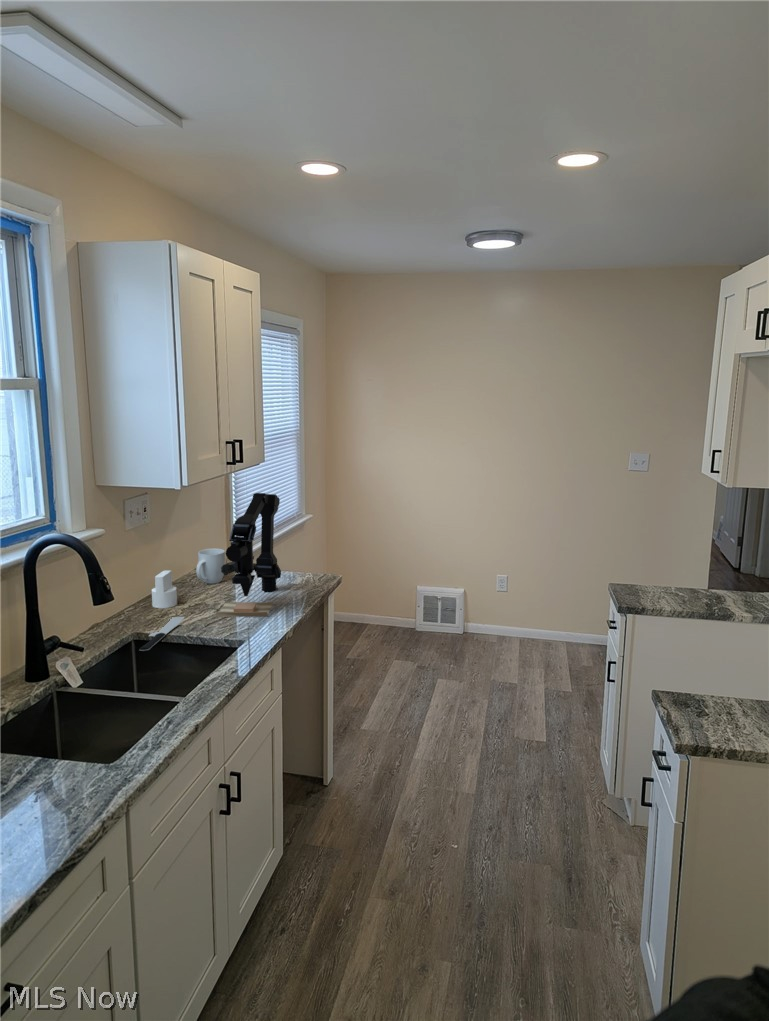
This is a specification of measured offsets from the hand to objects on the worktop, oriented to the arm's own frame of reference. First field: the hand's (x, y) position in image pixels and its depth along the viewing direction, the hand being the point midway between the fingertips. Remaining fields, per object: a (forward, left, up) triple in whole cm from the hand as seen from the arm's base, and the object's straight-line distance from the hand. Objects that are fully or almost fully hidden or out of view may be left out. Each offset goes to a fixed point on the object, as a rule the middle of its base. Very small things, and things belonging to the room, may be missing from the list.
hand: (246, 596), depth 251 cm
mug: (-36, -21, -6) cm, 42 cm away
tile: (-1, 0, -4) cm, 4 cm away
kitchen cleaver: (+23, -25, -6) cm, 35 cm away
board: (+1, 0, -6) cm, 6 cm away
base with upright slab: (-7, -32, -6) cm, 33 cm away
